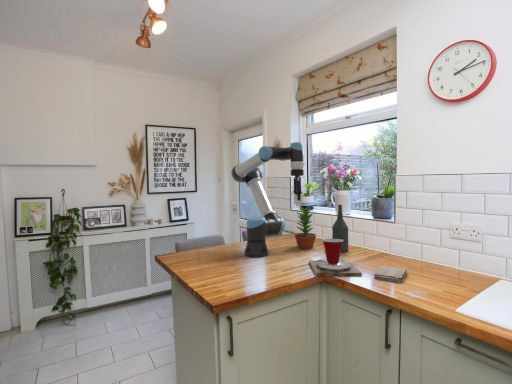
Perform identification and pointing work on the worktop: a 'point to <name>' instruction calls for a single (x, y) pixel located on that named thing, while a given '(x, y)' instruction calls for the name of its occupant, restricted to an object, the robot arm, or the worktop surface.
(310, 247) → the potted plant
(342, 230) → the bottle
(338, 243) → the plastic cup
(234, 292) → the worktop surface
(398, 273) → the washcloth
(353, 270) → the mount board
